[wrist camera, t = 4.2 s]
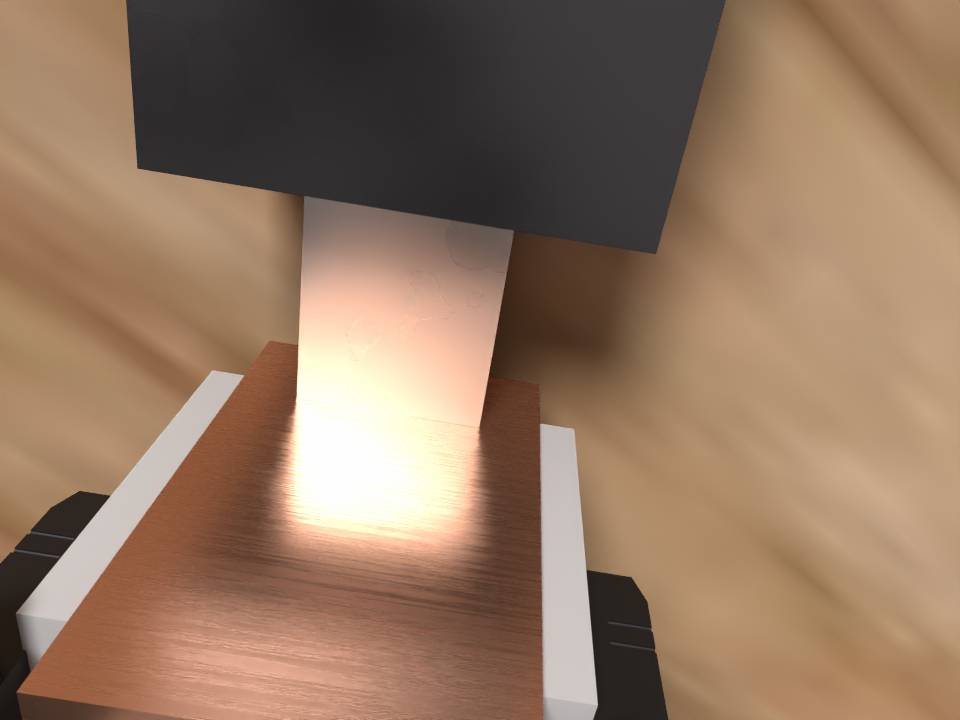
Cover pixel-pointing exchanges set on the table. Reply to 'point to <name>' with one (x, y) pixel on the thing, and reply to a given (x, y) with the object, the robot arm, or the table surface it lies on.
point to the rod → (338, 513)
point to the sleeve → (431, 104)
